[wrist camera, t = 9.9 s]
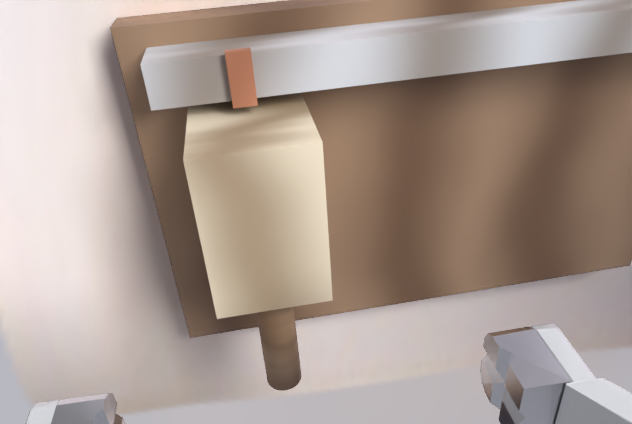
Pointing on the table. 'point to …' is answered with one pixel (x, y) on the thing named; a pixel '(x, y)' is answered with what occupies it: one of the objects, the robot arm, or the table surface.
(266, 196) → the wooden mallet
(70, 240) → the table surface
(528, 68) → the walnut board
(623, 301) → the table surface
